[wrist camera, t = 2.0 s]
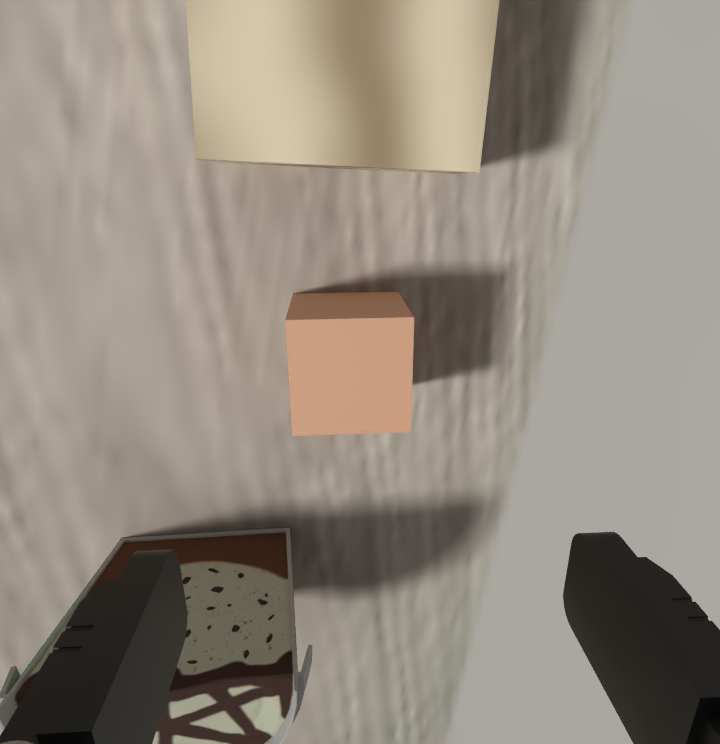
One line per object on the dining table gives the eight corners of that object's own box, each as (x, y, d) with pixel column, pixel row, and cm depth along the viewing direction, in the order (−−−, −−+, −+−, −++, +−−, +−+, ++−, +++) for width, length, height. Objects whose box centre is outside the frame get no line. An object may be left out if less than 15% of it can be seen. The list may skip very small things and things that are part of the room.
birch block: (223, 162, 22) (195, 159, 18) (209, -130, 19) (170, -232, 14) (448, 173, 23) (479, 172, 18) (476, -107, 20) (522, -197, 15)
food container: (116, 623, 31) (22, 819, 21) (94, 539, 28) (-21, 715, 19) (322, 609, 31) (319, 793, 22) (316, 525, 29) (310, 690, 20)
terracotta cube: (298, 390, 26) (292, 436, 21) (293, 293, 24) (285, 320, 20) (396, 387, 26) (410, 432, 22) (397, 291, 25) (414, 317, 20)
